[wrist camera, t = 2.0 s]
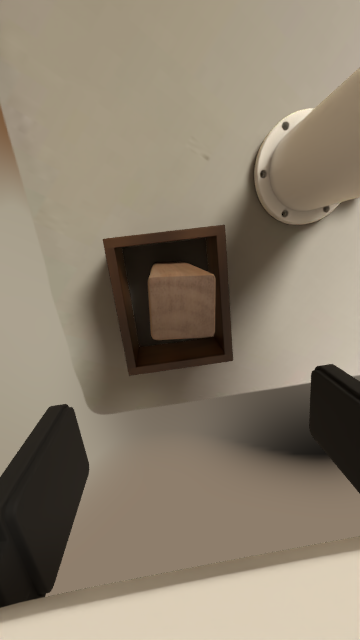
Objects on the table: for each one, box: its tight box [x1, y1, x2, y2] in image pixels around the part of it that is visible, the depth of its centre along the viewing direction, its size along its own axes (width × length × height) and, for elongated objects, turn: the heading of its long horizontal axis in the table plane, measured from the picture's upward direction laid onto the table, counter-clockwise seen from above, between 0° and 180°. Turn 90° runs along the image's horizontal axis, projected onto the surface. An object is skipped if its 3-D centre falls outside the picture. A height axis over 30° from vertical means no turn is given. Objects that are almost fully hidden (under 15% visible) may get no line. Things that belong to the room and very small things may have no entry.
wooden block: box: [148, 262, 216, 340], centre depth 25 cm, size 9×4×18 cm, turn 2°
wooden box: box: [103, 225, 233, 376], centre depth 31 cm, size 13×16×7 cm
